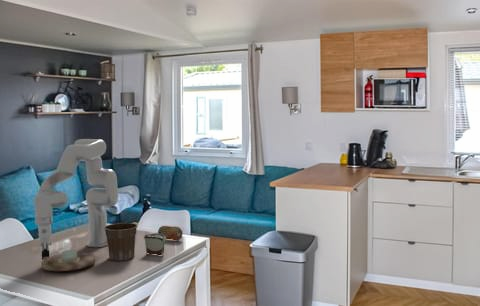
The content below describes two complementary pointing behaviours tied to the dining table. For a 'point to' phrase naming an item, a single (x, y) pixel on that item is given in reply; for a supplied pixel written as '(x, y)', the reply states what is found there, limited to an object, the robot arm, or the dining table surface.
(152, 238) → the food container
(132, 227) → the plant pot
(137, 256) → the dining table surface
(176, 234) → the tin
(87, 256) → the disc
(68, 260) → the sage green rounded cylinder
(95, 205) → the robot arm
